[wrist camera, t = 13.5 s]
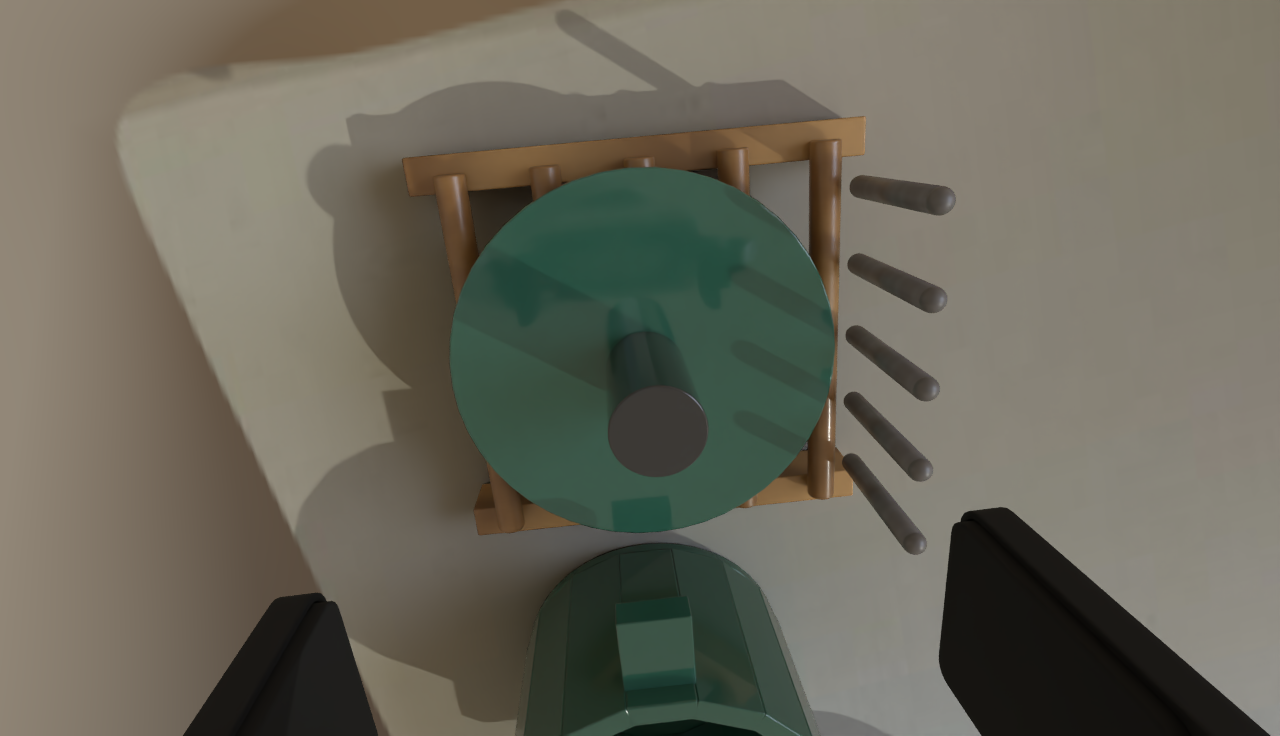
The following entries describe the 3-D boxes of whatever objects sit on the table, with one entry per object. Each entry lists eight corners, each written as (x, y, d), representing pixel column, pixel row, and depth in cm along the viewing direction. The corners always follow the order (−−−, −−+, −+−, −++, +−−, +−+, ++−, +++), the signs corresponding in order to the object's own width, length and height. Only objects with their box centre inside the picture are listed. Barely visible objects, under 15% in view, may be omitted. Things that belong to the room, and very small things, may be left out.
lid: (490, 532, 24) (456, 654, 18) (422, 184, 19) (350, 203, 14) (821, 496, 24) (888, 604, 19) (827, 147, 20) (916, 150, 14)
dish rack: (486, 508, 27) (440, 660, 19) (418, 156, 22) (317, 166, 14) (835, 471, 27) (931, 605, 19) (844, 118, 22) (976, 106, 15)
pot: (555, 788, 33) (540, 998, 25) (502, 504, 27) (461, 659, 19) (777, 762, 33) (834, 960, 25) (773, 475, 27) (846, 615, 19)
